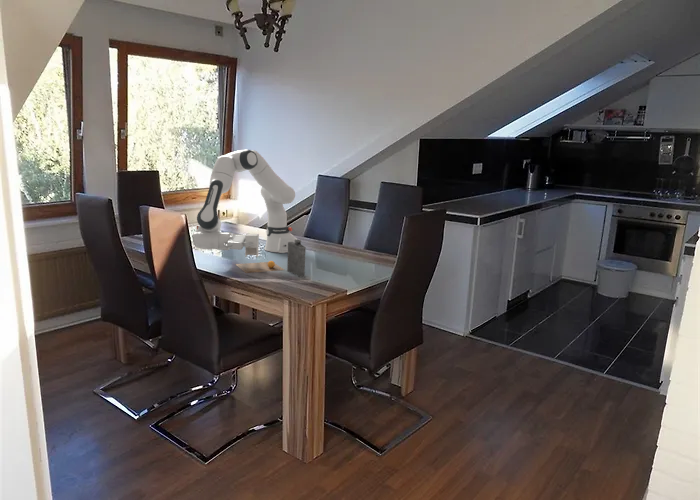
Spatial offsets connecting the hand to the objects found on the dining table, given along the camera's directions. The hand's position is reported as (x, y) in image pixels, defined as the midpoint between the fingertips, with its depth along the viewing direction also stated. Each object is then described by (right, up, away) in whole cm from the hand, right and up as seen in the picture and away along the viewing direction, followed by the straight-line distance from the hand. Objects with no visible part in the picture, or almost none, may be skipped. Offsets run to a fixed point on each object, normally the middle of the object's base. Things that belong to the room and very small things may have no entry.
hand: (253, 242), depth 273 cm
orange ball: (+9, -11, +1) cm, 14 cm away
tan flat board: (+3, -13, +2) cm, 14 cm away
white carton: (-1, -7, +1) cm, 7 cm away
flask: (+22, -17, -7) cm, 29 cm away
